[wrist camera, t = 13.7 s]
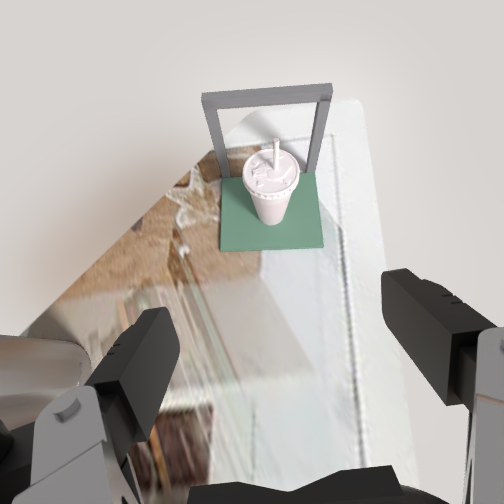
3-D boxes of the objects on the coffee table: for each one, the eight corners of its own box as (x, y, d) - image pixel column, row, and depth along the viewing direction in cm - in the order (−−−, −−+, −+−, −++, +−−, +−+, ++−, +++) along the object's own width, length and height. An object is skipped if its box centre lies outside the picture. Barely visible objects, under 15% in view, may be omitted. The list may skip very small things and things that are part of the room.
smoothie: (298, 229, 38) (311, 162, 25) (252, 237, 38) (242, 174, 25) (288, 191, 40) (296, 110, 27) (245, 198, 40) (233, 121, 27)
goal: (221, 252, 38) (194, 195, 25) (223, 173, 43) (201, 92, 30) (323, 247, 37) (349, 187, 24) (313, 168, 42) (331, 82, 29)
